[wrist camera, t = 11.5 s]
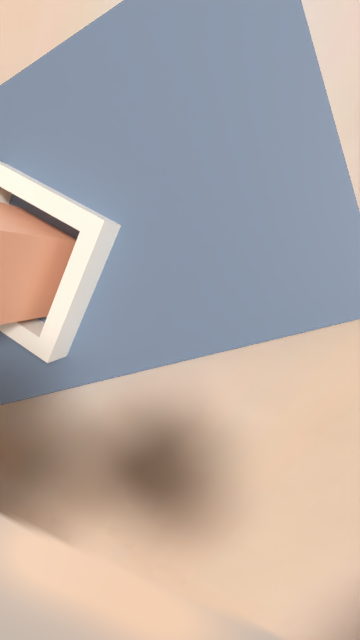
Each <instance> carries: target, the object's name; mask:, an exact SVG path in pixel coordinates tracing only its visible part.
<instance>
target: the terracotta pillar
mask: <svg viewBox="0 0 360 640" xmlns="http://www.w3.org/2000/svg"><path fill="white" fill-rule="evenodd" d="M75 243H76V239H75V238H73V237H71V236H69V235H68V234H66V233H64V232H62V231H61V230H59V229H57V228H55V227H54V226H52V225H50V224H48V223H47V222H45V221H43V220H41V219H40V218H38V217H36V216H34V215H33V214H31V213H29V212H27V211H25V210H24V209H22V208H20V207H17V206H13V205H9V204H5V203H1V202H0V325H1V324H7V323H13V322H18V321H24V320H30V319H36V318H41V317H47V316H48V313H49V311H50V308H51V306H52V303H53V300H54V298H55V295H56V293H57V290H58V287H59V285H60V282H61V280H62V277H63V274H64V272H65V269H66V266H67V264H68V261H69V259H70V256H71V253H72V251H73V248H74V246H75Z"/></svg>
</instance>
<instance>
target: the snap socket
mask: <svg viewBox="0 0 360 640" xmlns="http://www.w3.org/2000/svg"><path fill="white" fill-rule="evenodd" d="M12 193H13V194H14V195H16V196H18V197H20V198H21V199H23V200H25V201H27V202H29V203H30V204H32V205H34V206H36V207H38V208H39V209H41V210H43V211H45V212H46V213H48V214H50V215H52V216H54V217H55V218H57V219H59V220H61V221H63V222H64V223H66V224H68V225H70V226H71V227H73V228H75V229H77V230H79V231H80V233H79V235H78V238H77V240H76V243H75V246H74V248H73V251H72V253H71V256H70V259H69V261H68V264H67V266H66V269H65V272H64V274H63V277H62V280H61V282H60V285H59V287H58V290H57V293H56V295H55V298H54V300H53V303H52V306H51V308H50V311H49V313H48V316H47V319H46V321H45V323H44V322H42V321H41V320H39V319H38V318H36V319H30V320H24V321H18V322H13V323H7V324H1V325H0V331H1V332H3V333H4V334H6V335H7V336H8V337H10V338H11V339H13V340H14V341H16V342H17V343H19V344H20V345H22V346H23V347H24V348H26V349H27V350H29V351H30V352H32V353H33V354H35V355H36V356H38V357H39V358H40V359H42V360H43V361H45V362H46V363H49V362H52V361H55V360H58V359H60V358H63V357H66V356H67V354H68V352H69V349H70V347H71V345H72V342H73V340H74V337H75V335H76V333H77V330H78V328H79V325H80V323H81V321H82V318H83V316H84V313H85V311H86V309H87V306H88V304H89V301H90V299H91V297H92V294H93V292H94V289H95V287H96V285H97V282H98V280H99V277H100V275H101V273H102V270H103V268H104V265H105V263H106V261H107V258H108V256H109V253H110V251H111V249H112V246H113V244H114V241H115V239H116V236H117V234H118V232H119V229H120V227H121V225H119V224H118V223H116V222H114V221H112V220H110V219H108V218H106V217H105V216H103V215H101V214H99V213H97V212H95V211H93V210H92V209H90V208H88V207H86V206H84V205H82V204H80V203H78V202H77V201H75V200H73V199H71V198H69V197H67V196H65V195H64V194H62V193H60V192H58V191H56V190H54V189H52V188H51V187H49V186H47V185H45V184H43V183H41V182H39V181H37V180H36V179H34V178H32V177H30V176H28V175H26V174H24V173H23V172H21V171H19V170H17V169H15V168H13V167H11V166H10V165H8V164H6V163H3V162H1V161H0V202H1V203H5V204H9V202H10V198H11V195H12Z"/></svg>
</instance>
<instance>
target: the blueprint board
mask: <svg viewBox="0 0 360 640" xmlns="http://www.w3.org/2000/svg"><path fill="white" fill-rule="evenodd" d="M0 161H1V162H3V163H6V164H8V165H10V166H11V167H13V168H15V169H17V170H19V171H21V172H23V173H24V174H26V175H28V176H30V177H32V178H34V179H36V180H37V181H39V182H41V183H43V184H45V185H47V186H49V187H51V188H52V189H54V190H56V191H58V192H60V193H62V194H64V195H65V196H67V197H69V198H71V199H73V200H75V201H77V202H78V203H80V204H82V205H84V206H86V207H88V208H90V209H92V210H93V211H95V212H97V213H99V214H101V215H103V216H105V217H106V218H108V219H110V220H112V221H114V222H116V223H118V224H119V225H121V227H120V229H119V232H118V234H117V236H116V239H115V241H114V244H113V246H112V249H111V251H110V253H109V256H108V258H107V261H106V263H105V265H104V268H103V270H102V273H101V275H100V277H99V280H98V282H97V285H96V287H95V289H94V292H93V294H92V297H91V299H90V301H89V304H88V306H87V309H86V311H85V313H84V316H83V318H82V321H81V323H80V325H79V328H78V330H77V333H76V335H75V337H74V340H73V342H72V345H71V347H70V349H69V352H68V354H67V356H66V357H63V358H60V359H58V360H55V361H52V362H49V363H46V362H45V361H43V360H42V359H40V358H39V357H38V356H36V355H35V354H33V353H32V352H30V351H29V350H27V349H26V348H24V347H23V346H22V345H20V344H19V343H17V342H16V341H14V340H13V339H11V338H10V337H8V336H7V335H6V334H4V333H3V332H1V331H0V404H1V405H2V404H7V403H11V402H15V401H19V400H23V399H27V398H32V397H36V396H40V395H44V394H48V393H53V392H57V391H61V390H65V389H69V388H73V387H78V386H82V385H86V384H90V383H94V382H98V381H103V380H107V379H111V378H115V377H119V376H124V375H128V374H132V373H136V372H140V371H144V370H149V369H153V368H157V367H161V366H165V365H169V364H174V363H178V362H182V361H186V360H190V359H194V358H199V357H203V356H207V355H211V354H215V353H220V352H224V351H228V350H232V349H236V348H240V347H245V346H249V345H253V344H257V343H261V342H265V341H270V340H274V339H278V338H282V337H286V336H291V335H295V334H299V333H303V332H307V331H311V330H316V329H320V328H324V327H328V326H332V325H336V324H341V323H345V322H349V321H353V320H357V319H360V212H359V208H358V205H357V201H356V197H355V194H354V190H353V187H352V183H351V179H350V176H349V172H348V169H347V165H346V161H345V158H344V154H343V151H342V147H341V143H340V140H339V136H338V132H337V129H336V125H335V122H334V118H333V114H332V111H331V107H330V104H329V100H328V96H327V93H326V89H325V86H324V82H323V78H322V75H321V71H320V68H319V64H318V60H317V57H316V53H315V49H314V46H313V42H312V39H311V35H310V31H309V28H308V24H307V21H306V17H305V13H304V10H303V6H302V3H301V0H124V1H122V2H121V3H119V4H118V5H116V6H115V7H113V8H112V9H110V10H109V11H108V12H106V13H105V14H103V15H102V16H100V17H99V18H97V19H96V20H95V21H93V22H92V23H90V24H89V25H87V26H86V27H84V28H83V29H82V30H80V31H79V32H77V33H76V34H74V35H73V36H71V37H70V38H68V39H67V40H66V41H64V42H63V43H61V44H60V45H58V46H57V47H55V48H54V49H53V50H51V51H50V52H48V53H47V54H45V55H44V56H42V57H41V58H39V59H38V60H37V61H35V62H34V63H32V64H31V65H29V66H28V67H26V68H25V69H24V70H22V71H21V72H19V73H18V74H16V75H15V76H13V77H12V78H11V79H9V80H8V81H6V82H5V83H3V84H2V85H0ZM9 205H13V206H17V207H20V208H22V209H24V210H25V211H27V212H29V213H31V214H33V215H34V216H36V217H38V218H40V219H41V220H43V221H45V222H47V223H48V224H50V225H52V226H54V227H55V228H57V229H59V230H61V231H62V232H64V233H66V234H68V235H69V236H71V237H73V238H75V239H76V240H77V238H78V235H79V233H80V231H79V230H77V229H75V228H73V227H71V226H70V225H68V224H66V223H64V222H63V221H61V220H59V219H57V218H55V217H54V216H52V215H50V214H48V213H46V212H45V211H43V210H41V209H39V208H38V207H36V206H34V205H32V204H30V203H29V202H27V201H25V200H23V199H21V198H20V197H18V196H16V195H14V194H13V193H12V195H11V198H10V202H9ZM38 319H39V320H41V321H42V322H44V323H45V321H46V319H47V317H41V318H38Z"/></svg>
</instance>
